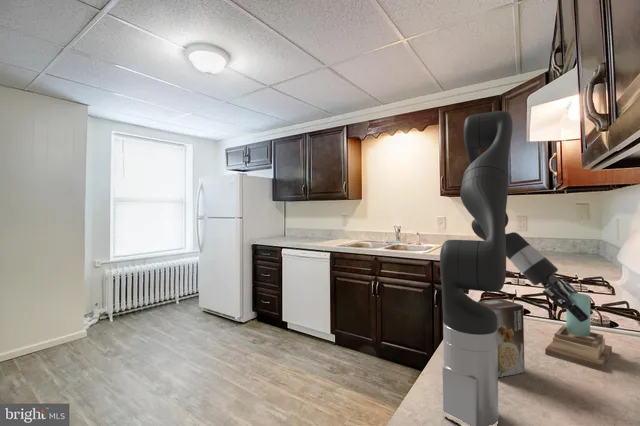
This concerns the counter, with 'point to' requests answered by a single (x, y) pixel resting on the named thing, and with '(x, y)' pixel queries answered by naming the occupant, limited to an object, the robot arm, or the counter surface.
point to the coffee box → (509, 336)
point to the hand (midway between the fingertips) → (587, 317)
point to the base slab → (579, 357)
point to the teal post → (572, 322)
